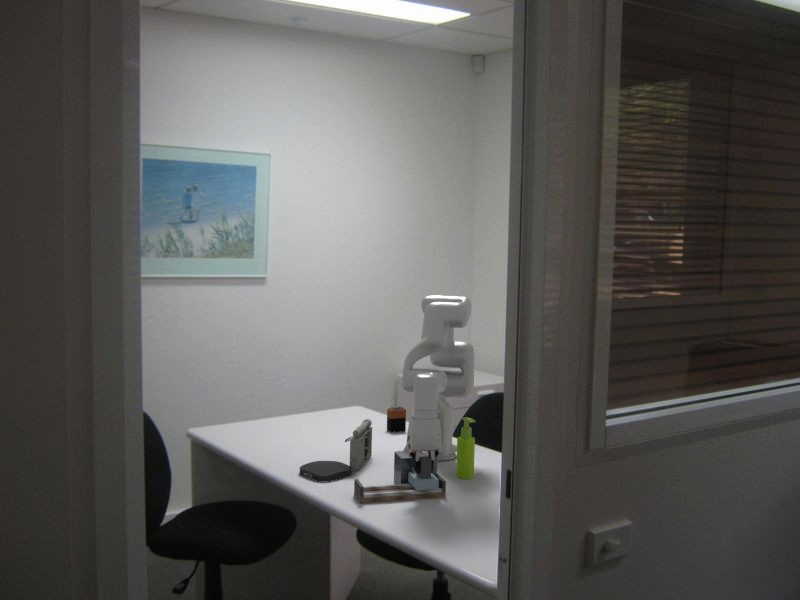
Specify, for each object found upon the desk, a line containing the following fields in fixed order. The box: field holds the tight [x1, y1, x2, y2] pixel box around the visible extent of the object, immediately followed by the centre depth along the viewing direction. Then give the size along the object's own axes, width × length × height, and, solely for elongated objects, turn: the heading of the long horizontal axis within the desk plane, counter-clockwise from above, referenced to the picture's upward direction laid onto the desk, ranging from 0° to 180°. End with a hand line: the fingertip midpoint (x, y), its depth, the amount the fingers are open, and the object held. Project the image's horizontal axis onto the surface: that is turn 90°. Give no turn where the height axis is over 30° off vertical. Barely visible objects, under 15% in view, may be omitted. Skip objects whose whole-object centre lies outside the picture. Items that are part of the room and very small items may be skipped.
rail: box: [353, 473, 447, 504], centre depth 248 cm, size 27×8×5 cm, turn 106°
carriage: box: [408, 454, 439, 491], centre depth 250 cm, size 7×9×9 cm
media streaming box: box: [299, 460, 353, 483], centre depth 269 cm, size 15×15×3 cm
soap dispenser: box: [455, 416, 476, 480], centre depth 268 cm, size 6×7×20 cm
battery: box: [386, 405, 407, 433], centre depth 328 cm, size 4×7×10 cm, turn 116°
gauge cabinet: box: [393, 450, 438, 485], centre depth 259 cm, size 12×8×10 cm
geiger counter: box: [344, 418, 373, 472], centre depth 284 cm, size 14×6×25 cm
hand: (423, 471), depth 250 cm, fingers closed on carriage, 3 cm apart
